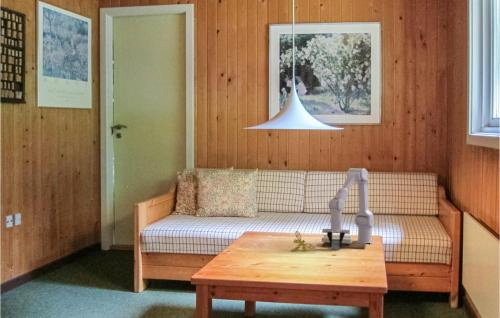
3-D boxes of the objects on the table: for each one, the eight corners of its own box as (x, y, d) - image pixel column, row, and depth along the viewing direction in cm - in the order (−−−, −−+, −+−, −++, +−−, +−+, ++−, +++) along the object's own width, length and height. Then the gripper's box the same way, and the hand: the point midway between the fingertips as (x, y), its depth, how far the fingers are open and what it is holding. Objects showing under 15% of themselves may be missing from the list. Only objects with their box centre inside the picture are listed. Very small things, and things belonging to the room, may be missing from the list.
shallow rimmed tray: (323, 240, 309) (323, 234, 309) (352, 242, 305) (352, 236, 305) (321, 244, 299) (321, 237, 299) (351, 245, 295) (351, 239, 295)
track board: (324, 243, 310) (324, 240, 310) (365, 245, 304) (365, 243, 304) (321, 247, 298) (321, 244, 298) (364, 249, 293) (364, 247, 293)
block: (332, 248, 295) (332, 239, 295) (339, 248, 294) (339, 239, 294) (331, 249, 291) (331, 240, 291) (339, 250, 290) (339, 240, 290)
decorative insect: (302, 260, 288) (315, 246, 287) (302, 261, 285) (315, 248, 284) (284, 243, 290) (297, 229, 288) (283, 244, 286) (296, 231, 285)
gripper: (321, 221, 290) (321, 247, 290) (349, 223, 286) (348, 248, 287) (323, 220, 297) (322, 244, 297) (350, 221, 293) (349, 246, 294)
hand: (335, 246), depth 293 cm, fingers closed on block, 4 cm apart
